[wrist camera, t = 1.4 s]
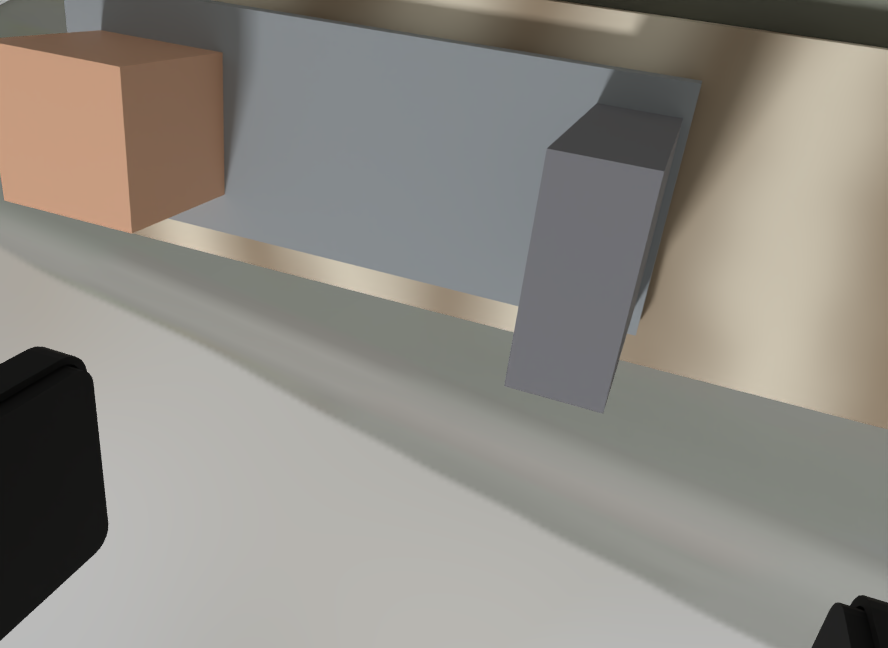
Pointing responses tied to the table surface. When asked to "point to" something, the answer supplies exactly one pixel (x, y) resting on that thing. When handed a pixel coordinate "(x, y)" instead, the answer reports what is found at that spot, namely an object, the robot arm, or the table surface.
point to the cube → (110, 126)
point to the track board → (698, 198)
